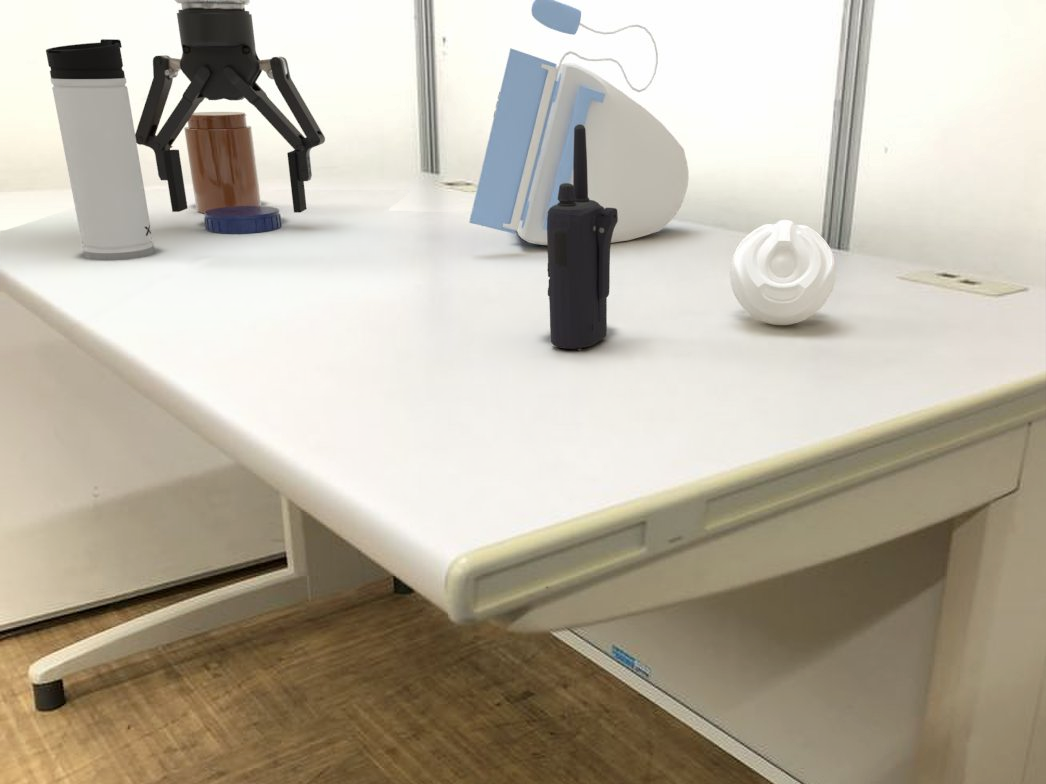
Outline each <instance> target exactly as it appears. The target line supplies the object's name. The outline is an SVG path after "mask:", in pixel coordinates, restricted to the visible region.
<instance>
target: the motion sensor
mask: <svg viewBox="0 0 1046 784" xmlns="http://www.w3.org/2000/svg"><path fill="white" fill-rule="evenodd" d="M836 268H837V267H836V262H835V257H834V253H833V251H832V248H831V247H830V245H829V244H828V242H827V241H826V240H825V239H824V238H823V236H822V235H821V234H820V233H818V232H817V231H816V230H814V229H813V228H811V227H810V226H807V225H805V224H796V223H795V222H794V221H792V220H790V219H780V220H779V221H777V222H776V223H773V224H772V223H765V224H763V225H761V226H759V227H756V228H754V230H752V231H751V232H750V233H749V234H747V235H746V236H745V237H743V239H742V240H741V241H740V243H738V245H737V247H736V249H735V250H734V253H733V255H732V259H731V263H730V267H729V269H730V270H729V279H730V280H729V281H730V285H731V290H732V292H733V294H734V295H733V296H735V299H736V300H737V302H738V303H739V305H740V306H741V307H742V308H743V309H744V311H746V312H747V313H748V314H749V315H750V316H751V317H753V318H755V319H756V320H758V321H760V322H762V323H765V324H768V325H772V326H773V325H774V326H790V325H795V324H798V323H802V322H803V321H806V320H807V319H809V318H811V317H812V316H813V315H815V314H816V313H818V311H819V310H821V309H822V308H823V306H824V305H825V304H826V302H827V301H828V300H829V298H830V297H831V295H832V292H833V290H834V287H835V282H836V276H837V275H836V274H837V269H836Z"/></svg>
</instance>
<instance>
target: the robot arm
mask: <svg viewBox="0 0 1046 784" xmlns="http://www.w3.org/2000/svg"><path fill="white" fill-rule="evenodd" d="M174 2H175V3H177V4H181V9H178V10H177V11H178V12H177V13H176V18H177V25H178V31H179V40H180V45H181V49H182V53H181V58H176V57H175V58H174V57H171V56H169V55H164V54H163V55H155V56H154V57H153V58H152V74H153V78H152V81H151V84H150V87H149V90H148V94H147V97H146V100H145V102H144V106H143V109H142V112H141V115H140V118H139V121H138V124H137V128H136V130H135V137H136V143H137V145H140V146H145V147H148V148H150V149H151V150H153V152H154V156H155V162H156V170H157V174H158V177H159V179H160V181H167V186H168V194H169V200H170V206H171V212H172V213H180V212H183V211H184V210H187V209H188V202H187V196H186V187H185V183H184V176H183V169H182V168H183V167H182V163H181V154H180V150H179V149H172V148H173V147H174V146H173V144H174V143H175V141H176V139H177V138H178V137H179V135H180V133H181V132H182V130H184V128H185V127H186V125H187V124H188V120H189V119H190V117H191V116H192V114H193V113H195V111H196V110H197V108H198V107H199V106H200V104H201V103H202V102H203V101H204V100H205V99H207V100H208V101H219V100H227V101H242V100H244V99H246V101H247V102H248V103H249V104H251V105H252V106H254V108H255V109H256V110H257V111H258V112H259V113H260V114H261V115H262V116H263V117H264V119H266V121H267V122H268V123H269V124H270V125H271V126H272V127H273V128H274V129H275V130H276V131H277V132H278V134H279V135H280V136H281V137H282V138H283V139H284V140H285V141H286V142H287V143H288V144H289V146H290V147H292V149H293V150H290V151H288V152H287V153H286V154H287V162H288V171H289V182H290V189H291V197H292V198H291V199H292V207H293V213H302V212H304V211H306V210H308V208H307V200H306V198H307V197H306V191H305V182H309V181H311V180H312V175H313V173H312V165H311V154H310V153H311V150H312V149H313V148H315V147H318V146H320V145H323V144H324V143H325V141H326V137H325V135H324V133H323V132H322V130H321V128H320V126H319V124H318V123H317V121H316V119H315V118H314V116H313V114H312V113H311V110H310V109H309V107H308V106H307V103H306V102H305V100H304V99H303V97H302V95H301V93H300V92H299V90H298V87H296V84H295V83H294V81H293V79H292V78H291V74H290V68H289V65H288V61H287V59H286V58H285V57H283V56H273V57H271V58H268V59H267V58H266V59H260V58H259V56H258V54H257V50H256V41H255V34H254V33H255V31H254V26H253V24H254V23H253V16H252V13H250V11H249V10H246V7H245V6H248V5H249V4H250V3H251V0H174ZM180 71H181V72H182V73H183V74H184V76H185V77H186V78H187V79H188V80H189V82H190V83H189V85H188V86H187V88H186V89H185V90H184V92H183V93H182V97H181V98H180V100H179V102H178V103H177V105H176V106H175V108H174V109H173V110H172V111H171V114H170V115H169V116H168V118H167V119H166V121H165V122H164V124H163V125H162V127H161V129H159V132H157V131H158V128H159V125H160V122H161V119H162V116H163V113H164V109H165V106H166V104H167V101H168V98H169V94H170V91H171V88H172V85H173V82H174V81H173V80H174V79H176V78H177V77H178V75H179V72H180ZM262 72H265V73H266V76H267V77H268V78H269V79H270V80H273V81H274V84H275V86H276V88H277V90H278V92H279V93H280V95H281V96H282V98H283V99H284V101H285V103H286V104H287V107H288V108H289V110H290V112H291V113H292V115H293V117H294V118H295V120H296V122H297V124H298V126H299V127H300V129H301V131H302V132H303V134H304V135H305V136H304V135H303V134H302V133H301V132H300V130H299V129H298V128H297V127H296V126H295V125H294V124H293V123H292V122H291V121H290V119H289V118H288V117H287V116H286V115H285V114H284V113H283V112H282V111H281V110H280V108H279V107H277V105H276V104H275V103H274V102H273V101H272V100H271V99H270V98H269V97H268V94H267V93H266V92H265V91H264V90H263V88H261V86H260V85H259V84H258V83H257V81H258V79H259V77H260V76H261V74H262Z"/></svg>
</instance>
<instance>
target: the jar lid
mask: <svg viewBox="0 0 1046 784" xmlns="http://www.w3.org/2000/svg"><path fill="white" fill-rule="evenodd" d="M203 214H204V218H203V219H204V226H205V230H207V231H208V232H211V233H214V234H215V233H216V234H230V235H231V234H232V235H233V234H237V235H238V234H256V233H257V234H258V233H264V232H271V231H274V230H278V229H280V228H281V227H282V220H281V219H282V218H281V213H280V209H279V208H277V207H274V206H266V205H261V206H235V207H224V208H216V209H211V210H208V211H205V212H204V213H203Z"/></svg>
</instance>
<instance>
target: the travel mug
mask: <svg viewBox="0 0 1046 784" xmlns="http://www.w3.org/2000/svg"><path fill="white" fill-rule="evenodd" d="M122 48H123V46H122V42H121V39H114V38H113V39H111V38H110V39H108V38H105V39H104V38H103V39H100V42H89V43H88V42H87V43H77V44H67V45H60V46H55V47H49V48H47V49H45V54H46V58H47V63H48V67H49V68H50V70H49V75H50V83H51V85H53V86H52V88H51V89H52V94H53V98H54V104H55V110H56V114H57V120H58V124H59V131H60V136H61V141H62V146H63V152H64V157H65V162H66V167H67V172H68V177H69V183H70V188H71V192H72V193H71V194H72V199H73V202H74V203H73V205H74V209H75V215H76V219H77V225H78V231H79V235H80V240H81V243H82V245H83V246H82V251H83V256H84V258H85V259H89V260H93V261H94V260H95V261H120V260H121V261H122V260H131V259H138V258H143V257H149V256H151V255H153V254H155V246H154V241H152V240H153V234H152V228H151V221H150V215H149V209H148V204H147V197H146V191H145V186H144V180H143V179H144V178H143V174H142V168H141V161H140V155H139V150H138V144H137V143H136V137H135V134H136V130H135V125H134V120H133V114H132V107H131V101H130V96H129V90H128V86H127V85H126V84H127V78H126V76H125V74H126V73H125V70H123V67H124V63H123V57H122V51H121V49H122Z"/></svg>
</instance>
